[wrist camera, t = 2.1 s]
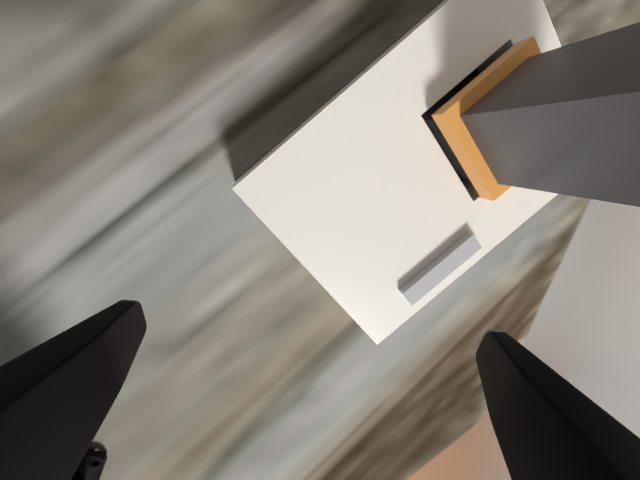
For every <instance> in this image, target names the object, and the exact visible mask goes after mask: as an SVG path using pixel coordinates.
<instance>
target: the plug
mask: <svg viewBox="0 0 640 480" xmlns="http://www.w3.org/2000/svg"><path fill="white" fill-rule="evenodd" d="M421 116H422V118H423V120H424V121H425V123H426V124H427V126H428V128H429V129H430V131H431V133H432V134H433V136H434V138H435V139H436V141H437V143H438V144H439V146H440V147H441V149H442V151H443V152H444V154H445V156H446V157H447V159H448V161H449V162H450V164H451V165H452V167H453V169H454V170H455V172H456V174H457V175H458V177H459V178H464V179H470V181H471V183H472V184H473V186H474V188H475V189H476V191H477V193H478V194H479V196H480V198H483V199H487V200H492V201H495V200H496V199H497V198H498V197H499V196H500V195H502V194H503V193H504V192H505V191H506V190H508V189H509V188H510V187H511V186H514V187H520V188H526V189H532V190H539V191H545V192H551V193H557V194H564V195H570V196H576V197H582V198H589V199H595V200H601V201H607V202H614V203H620V204H626V205H633V206H638V207H640V22H639V23H636V24H633V25H630V26H626V27H623V28H620V29H617V30H614V31H610V32H607V33H604V34H601V35H598V36H595V37H591V38H588V39H585V40H582V41H579V42H575V43H572V44H569V45H566V46H563V47H560V48H556V49H553V50H550V51H547V52H544V53H541V51H540V49H539V47H538V44H537V42H536V40H535V37H534V36H532V37H530V38H527V39H525V40H522V41H519V42H517V43H515V44H514V45H513V46H512V47H511V48H510V49H508V50H507V51H506V52H505V53H504V54H503V55H501V56H500V57H499V58H498V59H497V60H496V61H494V62H493V63H492V64H491V65H490V66H489V67H487V68H486V69H485V70H484V71H483V72H480V73H477V74H474V75H470V76H467V77H465V78H464V79H463V80H462V81H461V82H460V83H458V84H457V85H456V86H455V87H454V88H453V89H451V90H450V91H449V92H448V93H447V94H446V95H444V96H443V97H442V98H441V99H440V100H439V101H437V102H436V103H435V104H434V105H433V106H432V107H430V108H429V109H428V110H427V111H426V112H425V113H423V114H422V115H421Z"/></svg>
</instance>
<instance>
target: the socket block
mask: <svg viewBox="0 0 640 480" xmlns="http://www.w3.org/2000/svg"><path fill="white" fill-rule="evenodd" d="M532 36H534V37H535V40H536V42H537V44H538V47H539V49H540V51H541V53H544V52H547V51H550V50H553V49H556V48H560V47H562V46H561V44H560V41H559V39H558V36H557V34H556V31H555V29H554V26H553V24H552V22H551V19H550V17H549V14H548V12H547V9H546V7H545V4H544V2H543V0H444V1H443V2H442V3H440V4H439V5H438V6H437V7H436V8H435V9H433V10H432V11H431V12H430V13H429V14H428V15H427V16H425V17H424V18H423V19H422V20H421V21H420V22H418V23H417V24H416V25H415V26H414V27H413V28H412V29H410V30H409V31H408V32H407V33H406V34H405V35H404V36H402V37H401V38H400V39H399V40H398V41H397V42H395V43H394V44H393V45H392V46H391V47H390V48H389V49H387V50H386V51H385V52H384V53H383V54H382V55H380V56H379V57H378V58H377V59H376V60H375V61H374V62H372V63H371V64H370V65H369V66H368V67H367V68H365V69H364V70H363V71H362V72H361V73H360V74H359V75H357V76H356V77H355V78H354V79H353V80H352V81H351V82H349V83H348V84H347V85H346V86H345V87H344V88H342V89H341V90H340V91H339V92H338V93H337V94H336V95H334V96H333V97H332V98H331V99H330V100H329V101H327V102H326V103H325V104H324V105H323V106H322V107H321V108H319V109H318V110H317V111H316V112H315V113H314V114H313V115H311V116H310V117H309V118H308V119H307V120H306V121H304V122H303V123H302V124H301V125H300V126H299V127H298V128H296V129H295V130H294V131H293V132H292V133H291V134H289V135H288V136H287V137H286V138H285V139H284V140H283V141H281V142H280V143H279V144H278V145H277V146H276V147H274V148H273V149H272V150H271V151H270V152H269V153H268V154H266V155H265V156H264V157H263V158H262V159H261V160H260V161H258V162H257V163H256V164H255V165H254V166H253V167H251V168H250V169H249V170H248V171H247V172H246V173H245V174H243V175H242V176H241V177H240V178H239V179H238V180H236V181H235V183H234V185H233V188H232V189H233V190H234V191H235V192H236V194H237V195H238V196H239V197H240V198H241V199H242V200H243V201H244V202H245V203H246V204H247V205H248V206H249V207H250V209H251V210H252V211H253V212H254V213H255V214H256V215H257V216H258V217H259V218H260V219H261V220H262V221H263V223H264V224H265V225H266V226H267V227H268V228H269V229H270V230H271V231H272V232H273V233H274V234H275V235H276V237H277V238H278V239H279V240H280V241H281V242H282V243H283V244H284V245H285V246H286V247H287V248H288V249H289V250H290V252H291V253H292V254H293V255H294V256H295V257H296V258H297V259H298V260H299V261H300V262H301V263H302V264H303V266H304V267H305V268H306V269H307V270H308V271H309V272H310V273H311V274H312V275H313V276H314V277H315V278H316V280H317V281H318V282H319V283H320V284H321V285H322V286H323V287H324V288H325V289H326V290H327V291H328V292H329V294H330V295H331V296H332V297H333V298H334V299H335V300H336V301H337V302H338V303H339V304H340V305H341V306H342V307H343V309H344V310H345V311H346V312H347V313H348V314H349V315H350V316H351V317H352V318H353V319H354V320H355V321H356V323H357V324H358V325H359V326H360V327H361V328H362V329H363V330H364V331H365V332H366V333H367V334H368V335H369V337H370V338H371V339H372V340H373V341H374V342H375V343H376V344H379V343H380V342H381V341H382V340H383V339H385V338H386V337H387V336H388V335H389V334H391V333H392V332H393V331H394V330H395V329H397V328H398V327H399V326H400V325H401V324H403V323H404V322H405V321H406V320H407V319H409V318H410V317H411V316H412V315H413V314H415V313H416V312H417V311H418V310H419V309H421V308H422V307H423V306H424V305H425V304H427V303H428V302H429V301H430V300H431V299H433V298H434V297H435V296H436V295H437V294H439V293H440V292H441V291H442V290H443V289H445V288H446V287H447V286H448V285H449V284H451V283H452V282H453V281H454V280H455V279H457V278H458V277H459V276H460V275H461V274H463V273H464V272H465V271H466V270H467V269H469V268H470V267H471V266H472V265H473V264H475V263H476V262H477V261H478V260H479V259H481V258H482V257H483V256H484V255H485V254H487V253H488V252H489V251H490V250H491V249H492V248H494V247H495V246H496V245H497V244H498V243H500V242H501V241H502V240H503V239H504V238H506V237H507V236H508V235H509V234H510V233H512V232H513V231H514V230H515V229H516V228H518V227H519V226H520V225H521V224H522V223H524V222H525V221H526V220H527V219H528V218H530V217H531V216H532V215H533V214H534V213H536V212H537V211H538V210H539V209H540V208H542V207H543V206H544V205H545V204H546V203H548V202H549V201H550V200H551V199H552V198H554V197H555V196H556V195H557V193H551V192H545V191H539V190H532V189H526V188H520V187H514V186H511V187H510V188H509V189H508V190H506V191H505V192H504V193H503V194H502V195H500V196H499V197H498V198H497V199H496V200H495V201H492V200H487V199H483V198H480V196H479V194H478V193H477V191H476V189H475V188H474V186H473V184H472V183H471V181H470V179H464V178H461V179H459V177H458V175H457V174H456V172H455V170H454V169H453V167H452V165H451V164H450V162H449V161H448V159H447V157H446V156H445V154H444V152H443V151H442V149H441V147H440V146H439V144H438V143H437V141H436V139H435V138H434V136H433V134H432V133H431V131H430V129H429V128H428V126H427V124H426V123H425V121H424V120H423V118H422V116H421V115H422V114H423V113H424V112H426V111H427V110H428V109H429V108H430V107H431V106H433V105H434V104H435V103H436V102H437V101H438V100H440V99H441V98H442V97H443V96H444V95H445V94H447V93H448V92H449V91H450V90H451V89H452V88H454V87H455V86H456V85H457V84H458V83H459V82H461V81H462V80H463V79H464V78H465V77H466V76H468V75H469V74H470V73H471V72H472V71H473V70H475V69H476V68H478V70H479V72H483V71H484V70H485V69H486V68H487V67H489V66H490V65H491V64H492V63H493V62H494V61H496V60H497V59H498V58H499V57H500V56H501V55H503V54H504V53H505V52H506V51H507V50H508V49H510V48H511V47H512V46H513V45H514V44H515V43H517V42H519V41H522V40H525V39H527V38H530V37H532Z"/></svg>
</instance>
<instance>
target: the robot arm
mask: <svg viewBox="0 0 640 480" xmlns="http://www.w3.org/2000/svg"><path fill="white" fill-rule="evenodd" d="M145 332H146V320H145V317H144V313H143V310H142V306H141V304H140V302H138V301H134V300H121V301H119V302H117V303H115V304H113V305H111V306H110V307H108V308H106V309H104V310H102V311H100V312H99V313H97V314H95V315H93V316H91V317H89V318H88V319H86V320H84V321H82V322H80V323H79V324H77V325H75V326H73V327H71V328H69V329H68V330H66V331H64V332H62V333H60V334H58V335H57V336H55V337H53V338H51V339H49V340H47V341H46V342H44V343H42V344H40V345H38V346H36V347H35V348H33V349H31V350H29V351H27V352H26V353H24V354H22V355H20V356H18V357H16V358H15V359H13V360H11V361H9V362H7V363H5V364H4V365H2V366H0V480H99V479H100V477H101V474H102V471H103V468H104V465H105V463H106V460H107V456H106V454H105V453H103V452H99V451H92V450H87V449H88V448H89V446H90V444H91V442H92V440H93V439H94V437H95V435H96V433H97V431H98V430H99V428H100V426H101V424H102V422H103V421H104V419H105V417H106V415H107V413H108V412H109V410H110V408H111V406H112V404H113V403H114V401H115V399H116V397H117V395H118V393H119V391H120V390H121V388H122V385H123V383H124V381H125V379H126V377H127V374H128V372H129V370H130V367H131V365H132V363H133V360H134V358H135V356H136V353H137V351H138V349H139V346H140V344H141V342H142V339H143V337H144V335H145ZM476 362H477V366H478V370H479V374H480V378H481V383H482V387H483V391H484V395H485V399H486V403H487V407H488V411H489V415H490V419H491V422H492V425H493V428H494V431H495V434H496V437H497V439H498V442H499V445H500V448H501V451H502V454H503V456H504V459H505V462H506V464H507V468H508V471H509V473H510V476H511V479H512V480H640V438H639V437H637V436H636V435H635V434H634V433H632V432H631V431H630V430H629V429H627V428H626V427H625V426H624V425H622V424H621V423H620V422H618V421H617V420H616V419H614V418H613V417H612V416H611V415H610V414H608V413H607V412H606V411H604V410H603V409H602V408H601V407H599V406H598V405H597V404H596V403H594V402H593V401H592V400H591V399H589V398H588V397H587V396H586V395H584V394H583V393H582V392H581V391H579V390H578V389H577V388H575V387H574V386H573V385H572V384H570V383H569V382H568V381H567V380H565V379H564V378H563V377H561V376H560V375H559V374H558V373H556V372H555V371H554V370H553V369H551V368H550V367H549V366H548V365H546V364H545V363H544V362H542V361H541V360H540V359H539V358H538V357H536V356H535V355H534V354H532V353H531V352H530V351H529V350H527V349H526V348H525V347H524V346H522V345H521V344H520V343H519V342H517V341H516V340H515V339H513V338H512V337H511V336H510V335H508V334H507V333H506V332H504V331H496V330H488V331H486V332H485V334H484V336H483V338H482V340H481V342H480V345H479V347H478V349H477V352H476ZM96 460H97V461H96Z"/></svg>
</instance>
